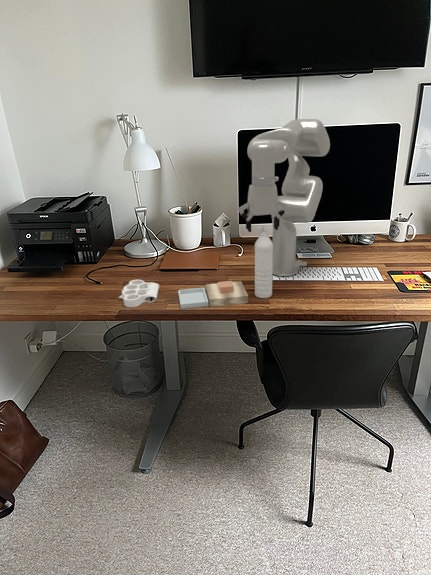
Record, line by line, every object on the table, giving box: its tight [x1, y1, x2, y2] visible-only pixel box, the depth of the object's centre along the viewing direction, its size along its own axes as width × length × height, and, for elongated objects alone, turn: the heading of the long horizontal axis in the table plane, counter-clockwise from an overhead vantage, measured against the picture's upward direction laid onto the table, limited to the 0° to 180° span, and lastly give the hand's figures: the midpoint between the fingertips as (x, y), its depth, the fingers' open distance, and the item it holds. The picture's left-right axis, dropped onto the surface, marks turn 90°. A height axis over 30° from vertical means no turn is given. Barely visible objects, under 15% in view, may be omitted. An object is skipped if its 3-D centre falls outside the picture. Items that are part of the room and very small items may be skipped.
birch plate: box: [204, 280, 249, 308], centre depth 168 cm, size 14×13×3 cm
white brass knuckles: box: [118, 279, 160, 308], centre depth 172 cm, size 3×18×15 cm
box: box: [177, 287, 210, 310], centre depth 167 cm, size 10×12×2 cm
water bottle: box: [254, 226, 273, 299], centre depth 165 cm, size 9×6×25 cm
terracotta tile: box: [217, 280, 234, 294], centre depth 167 cm, size 5×5×2 cm
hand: (262, 229), depth 159 cm, fingers open, 9 cm apart
